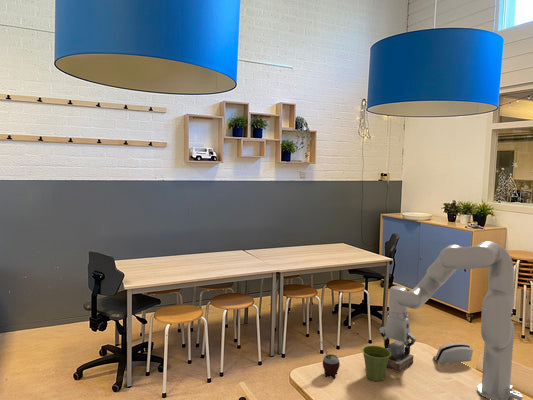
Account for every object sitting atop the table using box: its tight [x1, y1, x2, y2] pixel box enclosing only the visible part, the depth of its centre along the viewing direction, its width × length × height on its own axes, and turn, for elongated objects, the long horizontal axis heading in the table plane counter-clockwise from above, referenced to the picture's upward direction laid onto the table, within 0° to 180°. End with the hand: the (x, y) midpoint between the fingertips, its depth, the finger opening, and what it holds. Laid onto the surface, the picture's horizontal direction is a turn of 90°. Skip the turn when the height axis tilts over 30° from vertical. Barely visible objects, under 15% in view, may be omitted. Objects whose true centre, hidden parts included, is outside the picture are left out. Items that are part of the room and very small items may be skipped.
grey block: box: [388, 340, 406, 363], centre depth 181 cm, size 6×7×8 cm
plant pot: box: [361, 345, 391, 382], centre depth 168 cm, size 12×12×11 cm
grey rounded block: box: [432, 342, 474, 365], centre depth 183 cm, size 17×5×10 cm, turn 102°
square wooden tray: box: [386, 348, 414, 373], centre depth 181 cm, size 12×12×4 cm
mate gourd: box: [317, 339, 341, 380], centre depth 169 cm, size 8×8×15 cm
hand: (396, 351), depth 180 cm, fingers open, 9 cm apart
